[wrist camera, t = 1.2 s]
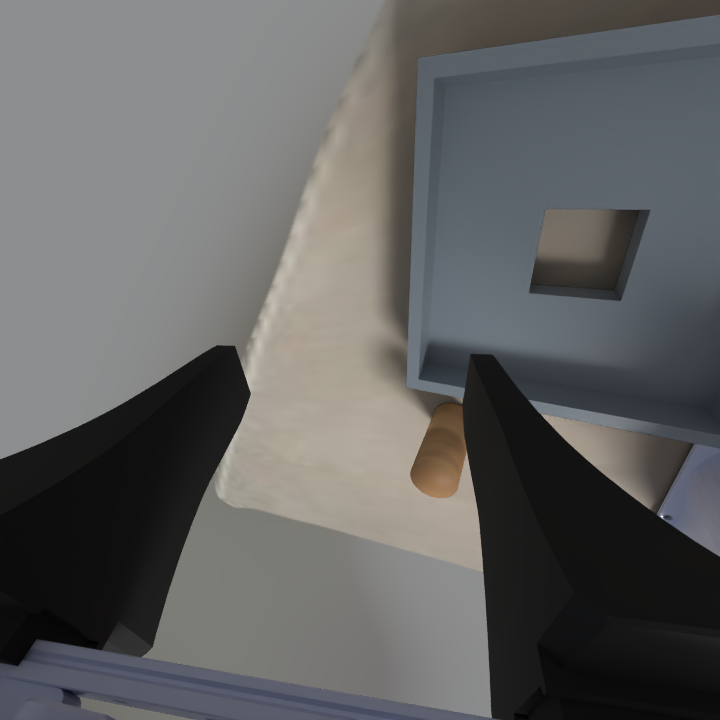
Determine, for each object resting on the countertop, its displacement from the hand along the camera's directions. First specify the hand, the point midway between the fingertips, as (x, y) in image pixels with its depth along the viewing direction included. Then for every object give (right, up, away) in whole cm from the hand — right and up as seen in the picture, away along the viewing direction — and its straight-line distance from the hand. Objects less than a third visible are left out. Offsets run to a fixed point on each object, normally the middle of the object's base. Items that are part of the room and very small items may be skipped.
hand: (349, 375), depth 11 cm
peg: (+8, -4, +19) cm, 21 cm away
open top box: (+13, +7, +10) cm, 18 cm away
